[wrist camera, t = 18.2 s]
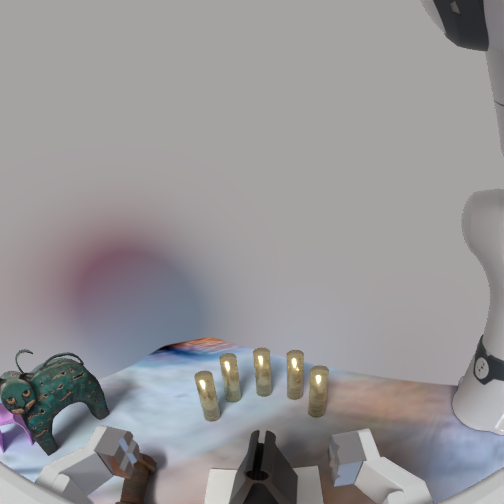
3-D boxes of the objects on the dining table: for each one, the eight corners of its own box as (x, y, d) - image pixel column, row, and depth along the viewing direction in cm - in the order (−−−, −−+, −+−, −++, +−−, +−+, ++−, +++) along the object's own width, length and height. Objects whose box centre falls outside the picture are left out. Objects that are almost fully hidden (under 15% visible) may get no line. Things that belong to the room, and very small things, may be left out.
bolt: (132, 543, 19) (142, 470, 33) (156, 544, 18) (163, 465, 33) (97, 529, 17) (115, 453, 31) (119, 530, 17) (135, 447, 31)
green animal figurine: (44, 463, 27) (-14, 374, 23) (31, 444, 31) (-19, 358, 26) (117, 415, 44) (82, 328, 40) (100, 402, 47) (67, 319, 43)
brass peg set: (317, 382, 53) (319, 343, 51) (325, 416, 43) (330, 375, 41) (211, 387, 54) (203, 349, 52) (203, 421, 44) (192, 381, 42)
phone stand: (298, 477, 31) (301, 430, 28) (296, 509, 25) (300, 470, 22) (236, 474, 32) (225, 427, 29) (228, 505, 26) (213, 465, 23)
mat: (317, 467, 32) (317, 465, 32) (325, 519, 23) (325, 518, 22) (211, 470, 33) (210, 468, 33) (202, 522, 23) (201, 520, 23)
